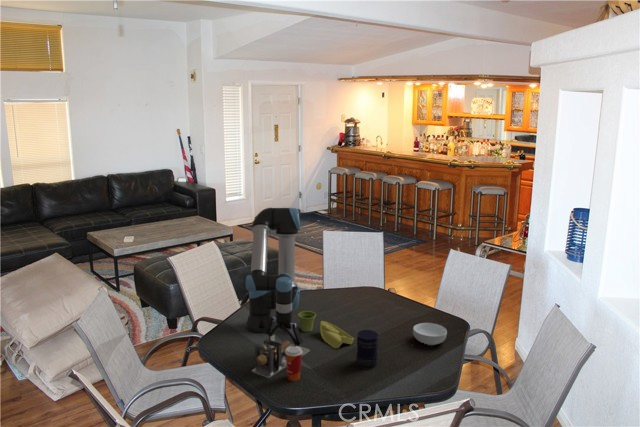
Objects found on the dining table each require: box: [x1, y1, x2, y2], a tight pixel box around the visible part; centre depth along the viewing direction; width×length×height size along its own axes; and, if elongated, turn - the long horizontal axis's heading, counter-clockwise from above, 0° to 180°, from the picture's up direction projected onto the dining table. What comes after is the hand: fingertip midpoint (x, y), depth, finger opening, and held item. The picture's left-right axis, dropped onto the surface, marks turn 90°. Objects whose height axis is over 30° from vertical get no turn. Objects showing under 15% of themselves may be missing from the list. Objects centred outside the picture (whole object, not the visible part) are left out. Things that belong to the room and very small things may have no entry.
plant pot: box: [297, 310, 317, 333], centre depth 294 cm, size 9×9×9 cm
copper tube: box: [256, 339, 292, 366], centre depth 254 cm, size 20×5×5 cm, turn 146°
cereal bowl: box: [412, 322, 448, 346], centre depth 283 cm, size 17×17×7 cm
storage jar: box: [355, 329, 379, 370], centre depth 258 cm, size 10×10×15 cm
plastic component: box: [319, 320, 355, 349], centre depth 283 cm, size 20×7×10 cm
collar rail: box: [251, 338, 311, 379], centre depth 259 cm, size 32×10×13 cm, turn 146°
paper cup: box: [285, 346, 303, 382], centre depth 244 cm, size 8×8×14 cm
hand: (283, 352), depth 261 cm, fingers open, 13 cm apart
